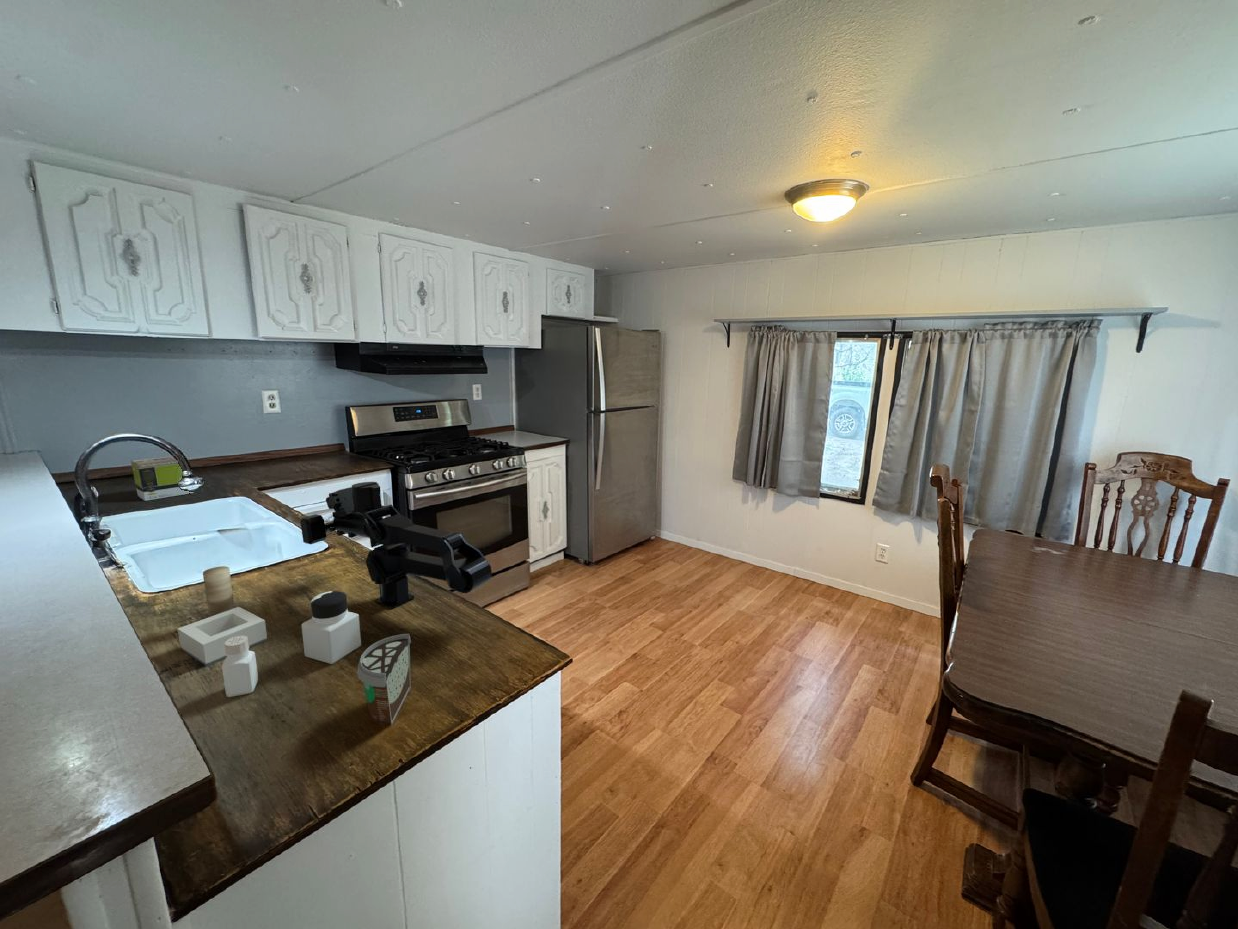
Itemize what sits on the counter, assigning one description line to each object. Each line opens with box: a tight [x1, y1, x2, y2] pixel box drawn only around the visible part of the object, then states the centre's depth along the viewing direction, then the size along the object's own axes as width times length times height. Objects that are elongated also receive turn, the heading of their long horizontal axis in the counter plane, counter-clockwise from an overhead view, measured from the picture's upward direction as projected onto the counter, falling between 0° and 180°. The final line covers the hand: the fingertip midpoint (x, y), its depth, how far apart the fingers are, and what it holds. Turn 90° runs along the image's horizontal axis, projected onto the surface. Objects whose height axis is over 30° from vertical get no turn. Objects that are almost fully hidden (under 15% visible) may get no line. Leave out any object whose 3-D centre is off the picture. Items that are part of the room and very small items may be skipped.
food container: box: [356, 633, 412, 726], centre depth 83 cm, size 12×6×10 cm, turn 5°
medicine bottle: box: [301, 590, 362, 665], centre depth 98 cm, size 7×7×12 cm
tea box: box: [130, 455, 194, 502], centre depth 195 cm, size 15×10×15 cm, turn 144°
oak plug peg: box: [202, 566, 236, 618], centre depth 107 cm, size 4×4×12 cm
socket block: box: [177, 606, 268, 667], centre depth 99 cm, size 10×10×4 cm
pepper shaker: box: [221, 636, 259, 698], centre depth 86 cm, size 4×4×10 cm
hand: (319, 517), depth 127 cm, fingers open, 9 cm apart
